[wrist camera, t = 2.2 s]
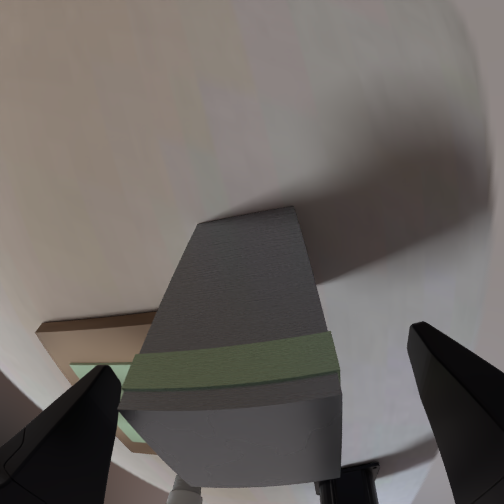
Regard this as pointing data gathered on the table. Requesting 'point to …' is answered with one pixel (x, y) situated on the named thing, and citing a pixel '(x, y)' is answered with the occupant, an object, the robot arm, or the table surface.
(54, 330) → the stand plate
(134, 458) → the table surface
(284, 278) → the column
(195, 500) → the lightbulb
